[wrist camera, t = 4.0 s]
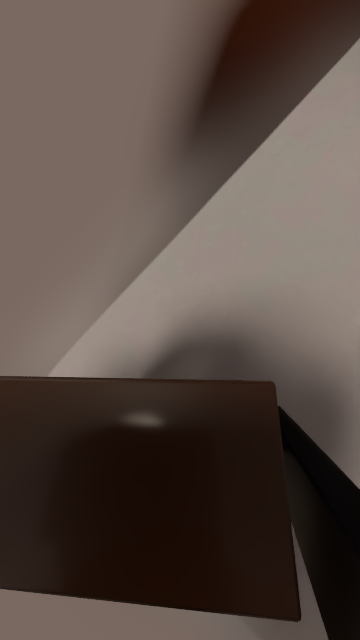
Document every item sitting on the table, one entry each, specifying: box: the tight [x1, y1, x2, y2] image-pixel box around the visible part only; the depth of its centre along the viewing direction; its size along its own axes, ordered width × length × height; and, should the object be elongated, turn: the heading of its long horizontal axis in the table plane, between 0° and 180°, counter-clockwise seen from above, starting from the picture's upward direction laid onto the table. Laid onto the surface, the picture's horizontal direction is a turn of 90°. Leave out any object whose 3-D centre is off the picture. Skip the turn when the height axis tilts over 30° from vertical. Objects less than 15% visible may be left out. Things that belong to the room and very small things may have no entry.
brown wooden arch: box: [0, 376, 301, 622], centre depth 9 cm, size 3×6×13 cm, turn 89°
